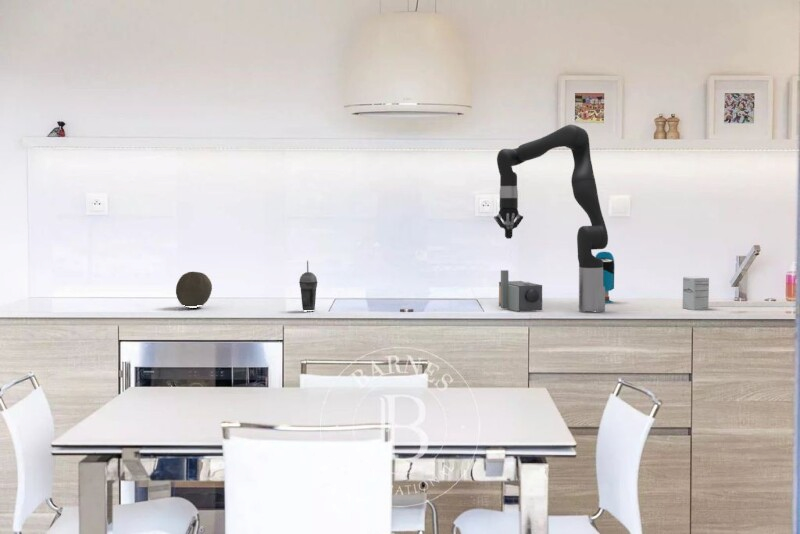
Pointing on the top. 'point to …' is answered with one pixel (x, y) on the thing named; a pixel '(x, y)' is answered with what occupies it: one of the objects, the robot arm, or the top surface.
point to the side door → (508, 293)
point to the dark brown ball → (193, 289)
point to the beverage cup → (308, 290)
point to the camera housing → (526, 295)
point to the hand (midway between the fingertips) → (508, 238)
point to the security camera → (607, 273)
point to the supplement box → (695, 293)
